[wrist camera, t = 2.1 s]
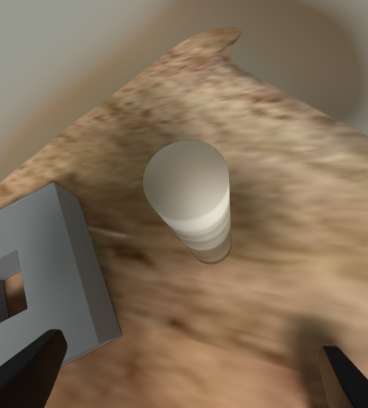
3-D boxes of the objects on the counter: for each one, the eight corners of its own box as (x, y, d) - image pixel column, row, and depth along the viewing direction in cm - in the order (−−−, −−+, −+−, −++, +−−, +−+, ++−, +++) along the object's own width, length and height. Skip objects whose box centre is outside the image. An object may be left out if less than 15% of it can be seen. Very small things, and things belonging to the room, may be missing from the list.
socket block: (122, 336, 21) (98, 343, 17) (-30, 413, 21) (-85, 437, 17) (78, 198, 27) (53, 182, 23) (-42, 260, 27) (-86, 253, 23)
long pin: (239, 252, 22) (245, 192, 10) (201, 271, 22) (162, 234, 10) (219, 217, 23) (203, 126, 11) (183, 235, 23) (130, 164, 11)
